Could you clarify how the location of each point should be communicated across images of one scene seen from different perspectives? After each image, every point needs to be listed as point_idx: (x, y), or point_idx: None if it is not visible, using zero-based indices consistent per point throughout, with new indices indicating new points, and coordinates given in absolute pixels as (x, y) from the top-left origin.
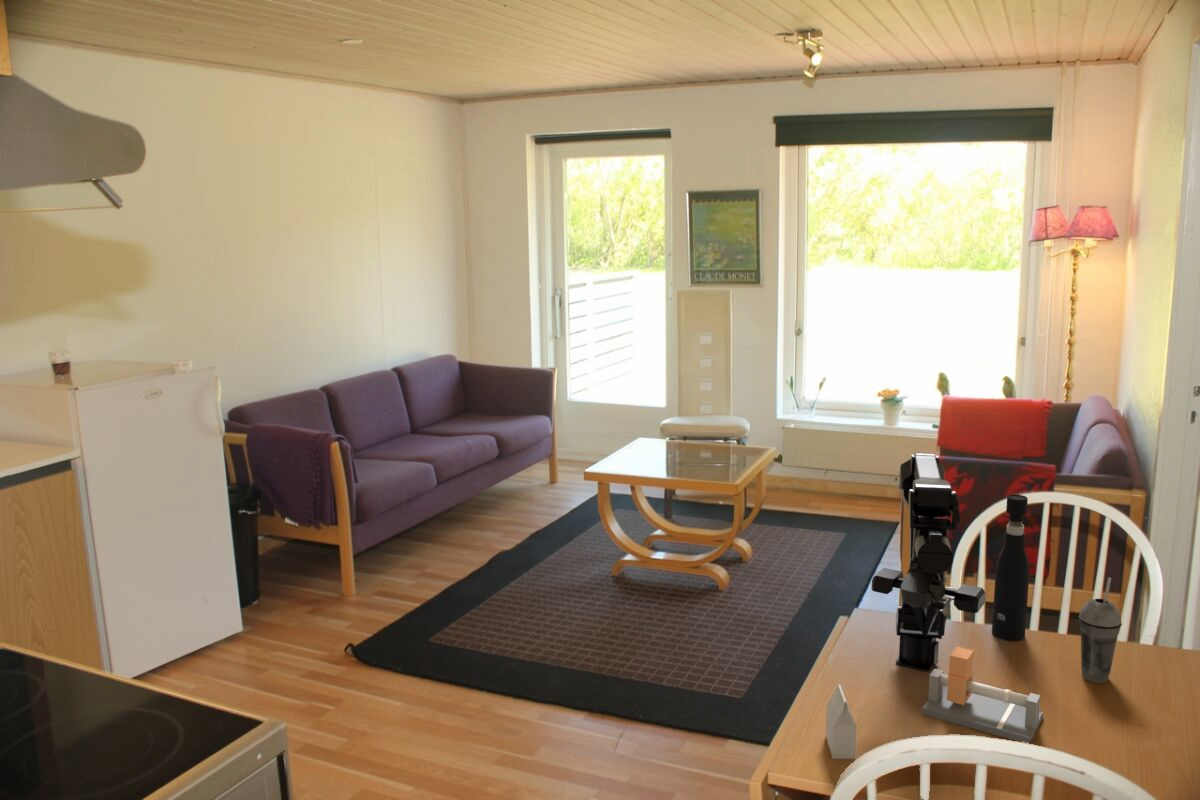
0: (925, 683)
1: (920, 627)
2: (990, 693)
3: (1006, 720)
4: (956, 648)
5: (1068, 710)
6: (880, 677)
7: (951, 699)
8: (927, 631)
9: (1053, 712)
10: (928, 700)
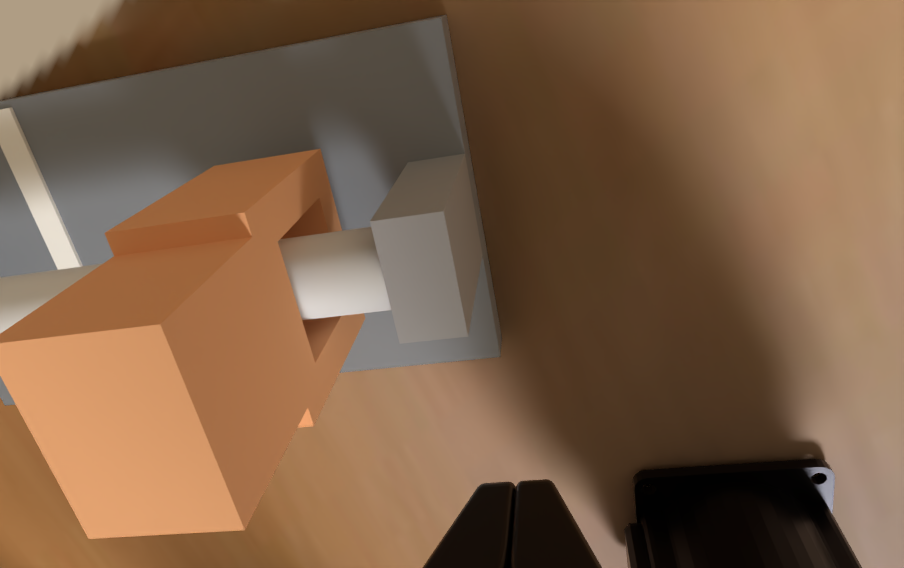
0: (595, 363)
1: (584, 550)
2: (41, 277)
3: (38, 222)
4: (218, 496)
5: (17, 498)
6: (859, 271)
7: (285, 158)
8: (459, 525)
9: (37, 453)
10: (456, 140)
